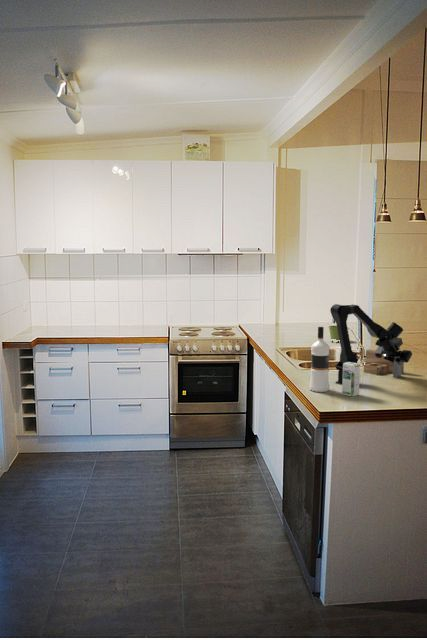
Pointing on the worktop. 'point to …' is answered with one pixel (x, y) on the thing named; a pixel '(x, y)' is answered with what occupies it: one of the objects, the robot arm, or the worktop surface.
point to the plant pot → (334, 332)
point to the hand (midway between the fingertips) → (399, 363)
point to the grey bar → (396, 369)
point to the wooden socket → (377, 364)
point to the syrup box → (350, 379)
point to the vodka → (319, 364)
